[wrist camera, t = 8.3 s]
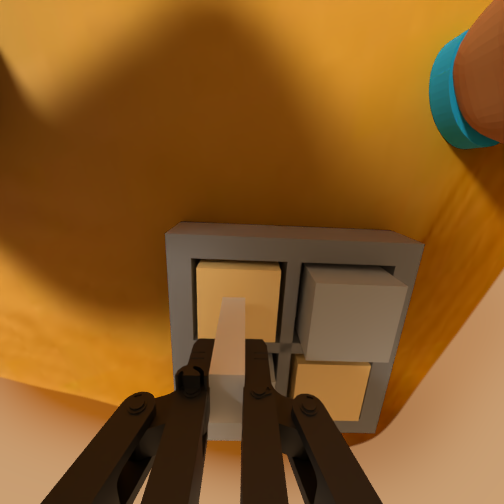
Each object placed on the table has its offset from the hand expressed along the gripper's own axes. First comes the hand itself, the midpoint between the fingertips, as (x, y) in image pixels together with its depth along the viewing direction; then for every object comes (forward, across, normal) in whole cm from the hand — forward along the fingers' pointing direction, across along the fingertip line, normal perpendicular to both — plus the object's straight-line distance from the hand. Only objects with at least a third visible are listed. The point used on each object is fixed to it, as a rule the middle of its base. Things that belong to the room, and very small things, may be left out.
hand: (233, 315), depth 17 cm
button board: (+7, +4, -4) cm, 9 cm away
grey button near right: (+4, +8, 0) cm, 9 cm away
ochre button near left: (+6, 0, 0) cm, 6 cm away
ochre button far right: (+6, +8, -8) cm, 13 cm away
